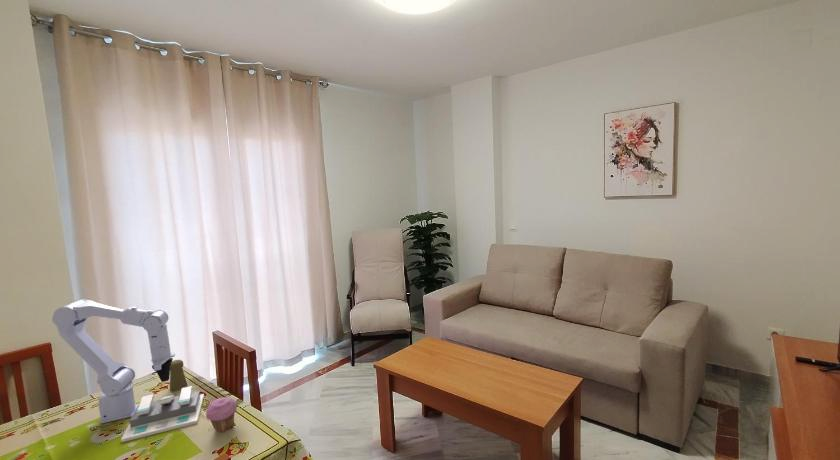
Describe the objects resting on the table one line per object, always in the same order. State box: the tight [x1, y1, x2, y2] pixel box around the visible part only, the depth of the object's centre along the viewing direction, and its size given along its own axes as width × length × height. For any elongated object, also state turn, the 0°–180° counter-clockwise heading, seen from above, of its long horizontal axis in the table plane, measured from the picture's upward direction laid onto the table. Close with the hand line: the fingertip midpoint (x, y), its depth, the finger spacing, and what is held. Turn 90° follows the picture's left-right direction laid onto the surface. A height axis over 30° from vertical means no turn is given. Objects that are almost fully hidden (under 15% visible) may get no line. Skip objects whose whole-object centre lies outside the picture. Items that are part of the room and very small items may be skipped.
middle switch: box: [158, 394, 175, 406], centre depth 132 cm, size 3×8×2 cm, turn 23°
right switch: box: [178, 385, 193, 406], centre depth 134 cm, size 3×8×2 cm, turn 24°
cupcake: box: [205, 396, 238, 433], centre depth 123 cm, size 9×9×10 cm
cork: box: [169, 359, 188, 392], centre depth 150 cm, size 6×6×11 cm
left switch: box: [137, 394, 155, 416], centre depth 129 cm, size 3×8×2 cm, turn 24°
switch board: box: [120, 390, 205, 443], centre depth 130 cm, size 21×18×4 cm
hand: (165, 380), depth 135 cm, fingers closed
